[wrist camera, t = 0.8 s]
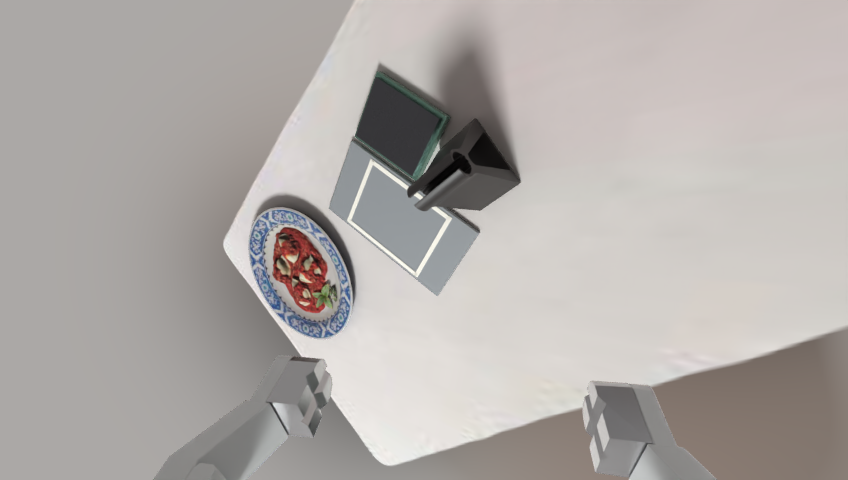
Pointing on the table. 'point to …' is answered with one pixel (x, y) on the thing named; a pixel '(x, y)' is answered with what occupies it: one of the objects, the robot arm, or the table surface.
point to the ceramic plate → (300, 273)
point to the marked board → (400, 219)
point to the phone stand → (465, 173)
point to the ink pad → (400, 125)
